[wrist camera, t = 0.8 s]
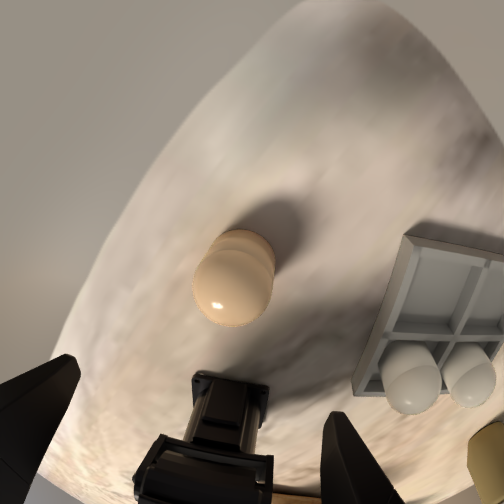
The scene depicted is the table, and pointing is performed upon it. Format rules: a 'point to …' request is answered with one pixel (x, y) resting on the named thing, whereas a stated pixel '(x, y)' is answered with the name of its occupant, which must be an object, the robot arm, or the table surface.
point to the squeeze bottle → (488, 463)
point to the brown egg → (235, 278)
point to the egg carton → (436, 306)
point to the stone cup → (293, 499)
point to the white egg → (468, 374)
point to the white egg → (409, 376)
